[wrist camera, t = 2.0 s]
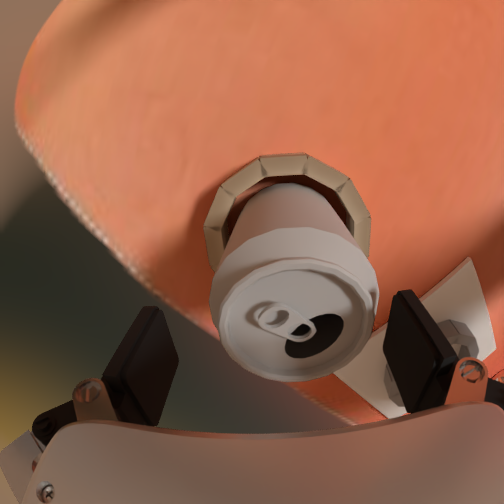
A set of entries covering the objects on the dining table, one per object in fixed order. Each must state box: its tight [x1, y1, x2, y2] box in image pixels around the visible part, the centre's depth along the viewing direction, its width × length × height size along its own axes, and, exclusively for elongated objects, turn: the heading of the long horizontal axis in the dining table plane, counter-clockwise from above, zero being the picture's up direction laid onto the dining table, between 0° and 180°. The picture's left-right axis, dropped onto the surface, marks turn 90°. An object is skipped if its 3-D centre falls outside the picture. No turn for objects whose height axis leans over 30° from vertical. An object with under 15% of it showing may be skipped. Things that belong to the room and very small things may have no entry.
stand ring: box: [203, 153, 371, 272], centre depth 20 cm, size 11×11×2 cm
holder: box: [333, 257, 496, 419], centre depth 24 cm, size 18×18×3 cm
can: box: [209, 183, 379, 382], centre depth 16 cm, size 8×8×12 cm
